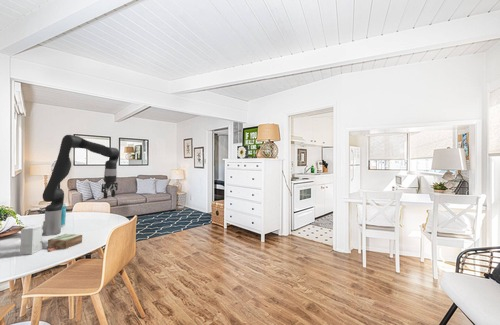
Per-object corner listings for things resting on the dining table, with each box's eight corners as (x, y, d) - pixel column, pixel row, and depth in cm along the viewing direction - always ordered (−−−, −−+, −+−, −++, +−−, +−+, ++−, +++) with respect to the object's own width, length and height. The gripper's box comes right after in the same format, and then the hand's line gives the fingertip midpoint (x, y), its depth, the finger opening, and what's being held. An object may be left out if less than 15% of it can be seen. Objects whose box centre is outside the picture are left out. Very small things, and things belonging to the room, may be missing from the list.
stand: (47, 247, 137) (48, 239, 137) (65, 241, 149) (65, 233, 149) (65, 249, 136) (66, 240, 136) (82, 242, 148) (82, 234, 148)
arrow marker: (51, 251, 131) (51, 250, 131) (46, 251, 131) (46, 249, 131) (59, 248, 137) (59, 246, 137) (55, 248, 137) (55, 246, 137)
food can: (56, 229, 175) (57, 206, 175) (41, 228, 174) (42, 205, 175) (68, 225, 187) (69, 203, 187) (54, 224, 186) (55, 203, 187)
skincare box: (32, 254, 126) (33, 228, 127) (19, 255, 125) (20, 228, 125) (42, 249, 135) (43, 224, 135) (30, 249, 133) (31, 224, 134)
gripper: (111, 174, 167) (110, 196, 167) (98, 175, 153) (97, 198, 153) (121, 174, 167) (120, 196, 167) (109, 175, 153) (107, 199, 152)
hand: (109, 197), depth 160 cm, fingers open, 8 cm apart
